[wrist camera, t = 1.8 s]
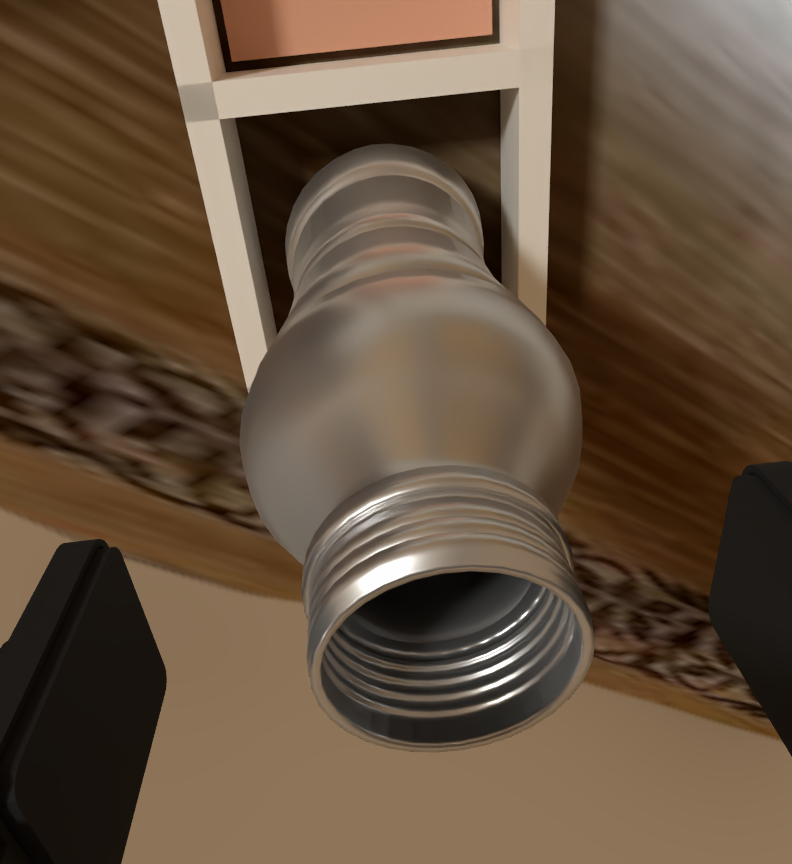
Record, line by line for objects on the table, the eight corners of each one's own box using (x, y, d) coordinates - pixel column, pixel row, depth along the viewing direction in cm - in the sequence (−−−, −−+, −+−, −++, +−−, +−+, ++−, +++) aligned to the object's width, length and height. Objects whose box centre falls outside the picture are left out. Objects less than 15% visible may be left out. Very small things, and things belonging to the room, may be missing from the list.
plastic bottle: (499, 252, 27) (776, 701, 10) (348, 338, 28) (359, 859, 11) (418, 91, 23) (616, 337, 7) (252, 196, 25) (64, 623, 8)
